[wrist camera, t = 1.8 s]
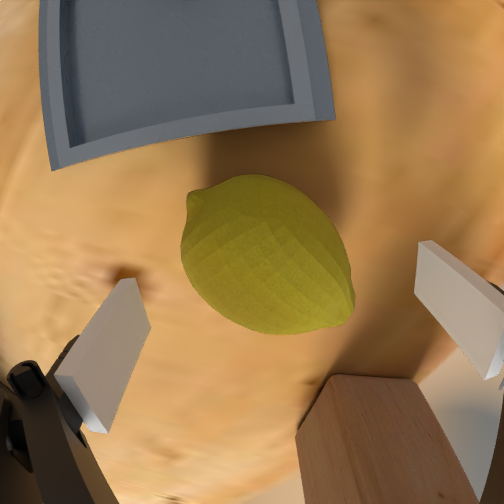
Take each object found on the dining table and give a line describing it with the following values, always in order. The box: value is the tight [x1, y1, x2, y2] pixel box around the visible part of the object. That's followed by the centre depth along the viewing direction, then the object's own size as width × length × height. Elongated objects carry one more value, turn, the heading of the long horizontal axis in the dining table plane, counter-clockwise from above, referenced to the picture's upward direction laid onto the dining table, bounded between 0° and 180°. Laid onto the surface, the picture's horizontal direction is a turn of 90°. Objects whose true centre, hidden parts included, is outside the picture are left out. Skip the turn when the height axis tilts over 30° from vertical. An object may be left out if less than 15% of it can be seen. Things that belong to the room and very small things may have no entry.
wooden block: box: [295, 374, 479, 504], centre depth 18 cm, size 10×10×20 cm
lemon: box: [180, 174, 355, 335], centre depth 17 cm, size 11×8×8 cm
